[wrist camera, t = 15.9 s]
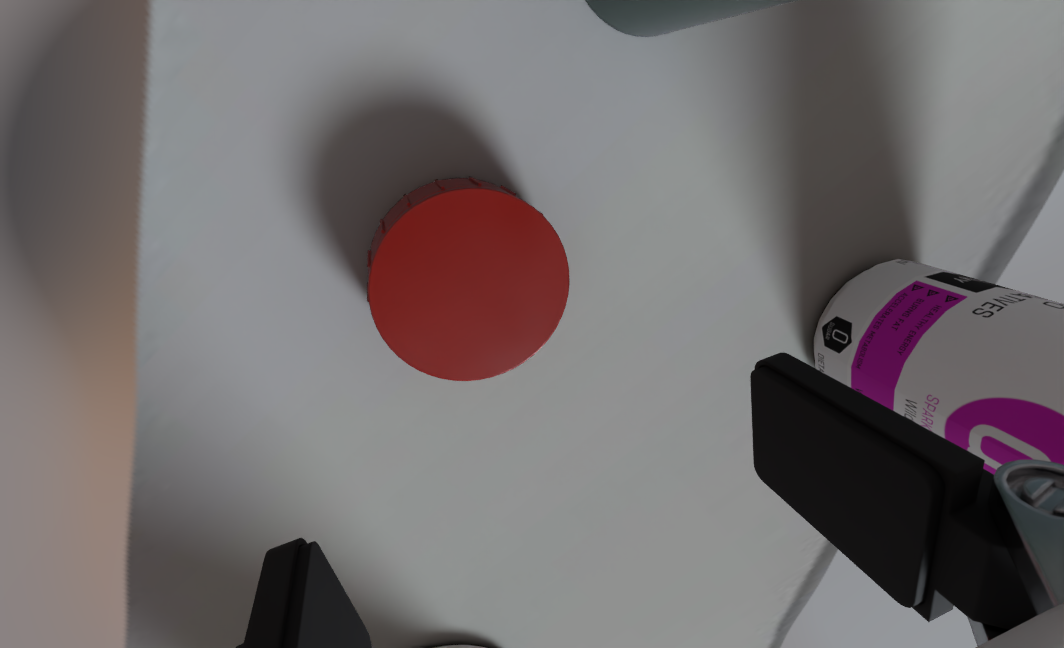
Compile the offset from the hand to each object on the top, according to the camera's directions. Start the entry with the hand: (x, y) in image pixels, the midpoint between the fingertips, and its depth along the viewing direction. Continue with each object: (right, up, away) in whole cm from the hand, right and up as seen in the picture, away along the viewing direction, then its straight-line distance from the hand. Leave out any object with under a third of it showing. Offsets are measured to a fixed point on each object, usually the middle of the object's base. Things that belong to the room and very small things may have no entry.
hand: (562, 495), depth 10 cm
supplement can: (+19, +4, +19) cm, 27 cm away
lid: (-3, +5, +9) cm, 10 cm away
